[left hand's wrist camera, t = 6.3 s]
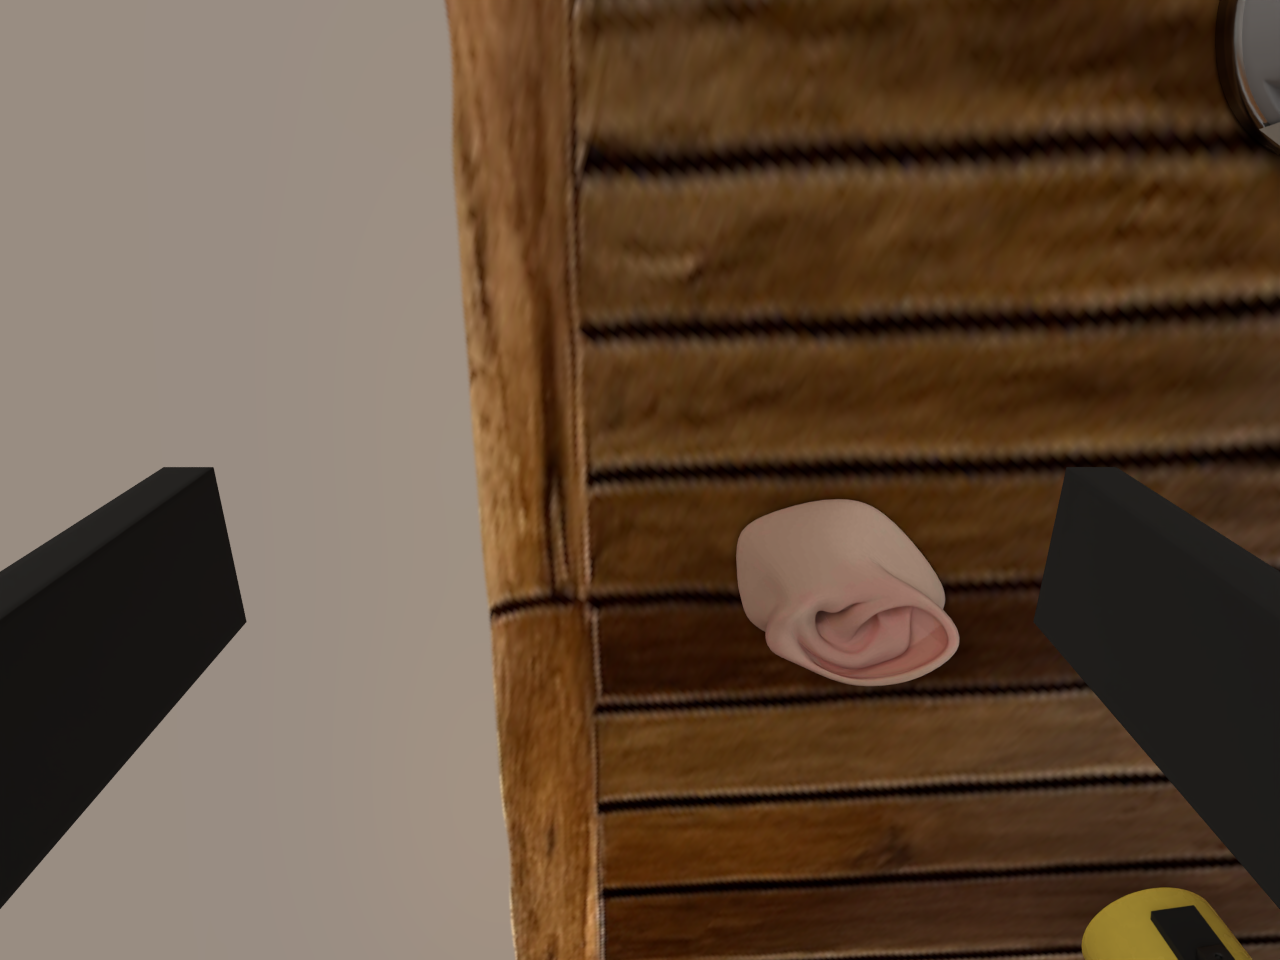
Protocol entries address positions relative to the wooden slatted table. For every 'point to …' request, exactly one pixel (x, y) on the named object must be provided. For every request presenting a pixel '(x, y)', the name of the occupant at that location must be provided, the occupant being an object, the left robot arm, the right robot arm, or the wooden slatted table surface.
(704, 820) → the wooden slatted table surface
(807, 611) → the anatomical model
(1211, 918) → the yellow cylinder
